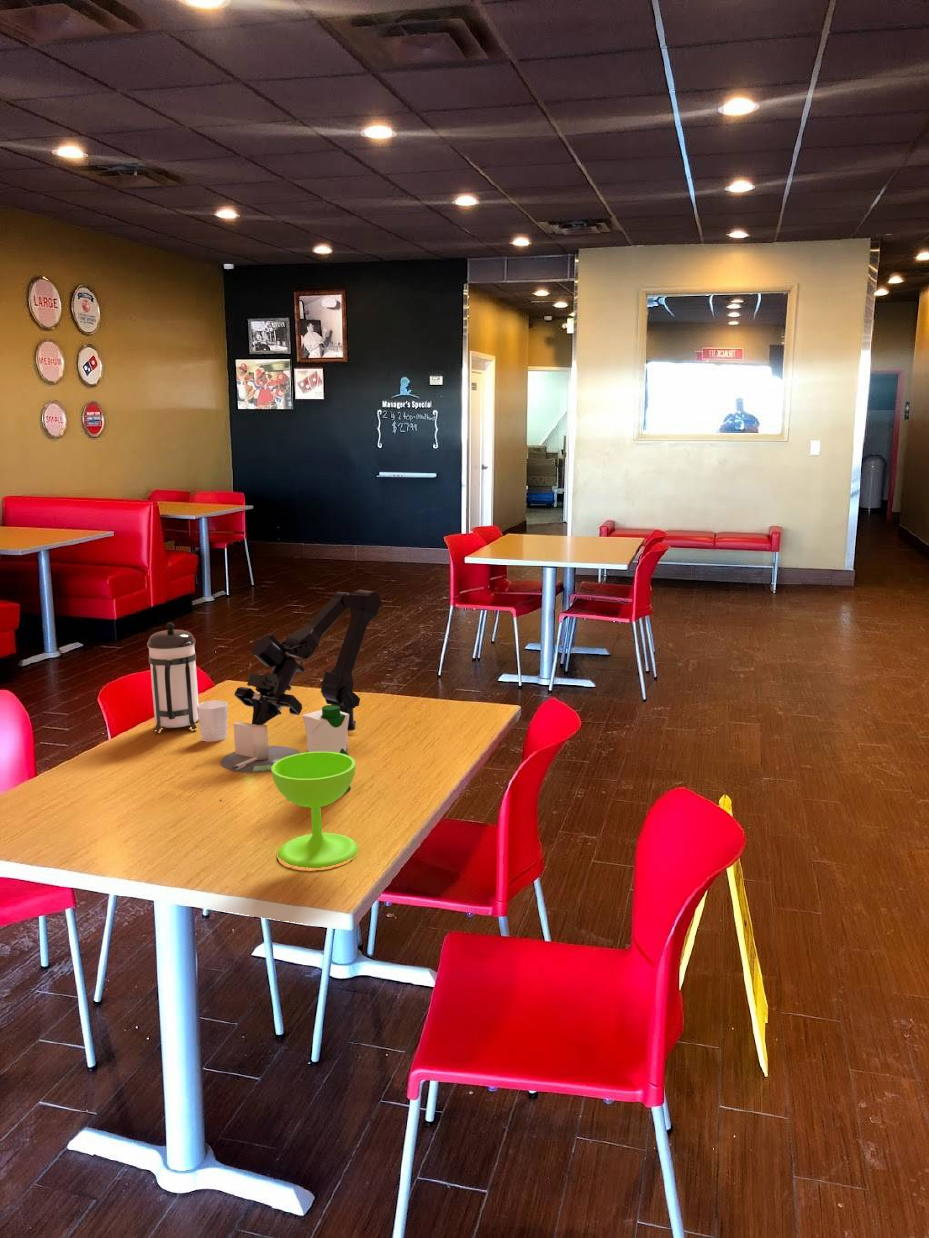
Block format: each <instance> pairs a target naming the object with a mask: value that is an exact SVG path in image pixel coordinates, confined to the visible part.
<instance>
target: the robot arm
mask: <svg viewBox="0 0 929 1238" xmlns="http://www.w3.org/2000/svg"><path fill="white" fill-rule="evenodd" d="M381 606H382V598H381V596H380V594H379V593H378V592H376V591H371V590H366V589H365V590H364V589H357V590H356V591H353V592H343V591H342V592H341V591H336V592H335V593H333V594H332V598H331V599H330V600H329V601H328V602H327V603H325V605H324V606H323V607H322V608H321V609H320V610H319V612H318V613H316V614H315V616H314V617H313V618H312V619H311V621H309V623H308V624H306V625H305V626H304V627H302V628H299V629H297V630H295V631H294V632H293V633H292V634H290V635H289V636H288V637H287V638H286V639H285V640H283V641H278V639H277V638H276V637H275V636H274V635H273V634H269V633H268V634H266V635H265V637H262V638H261V639H259V640H258V641H257V642H255V643H254V644H253V646H252V648H251V653H252V655H253V656H254V657H256V658H257V659H258V660H259V661H260V663H262V664H263V665H265V666H266V667H268V668H272V667H273V668H272V669H271V671H270V672H268V673H265V674H264V675H263V674H258V673H249V676H248V680H247V684H246V685H247V687H245V686H239V687H237V688H236V690H235V692H234V696H235V698H237V699H238V700H239V701H240V702H242V704H243V705H244V706H247V707H250V708H252V709H253V710H252V719H251V724H255V725H266V723H268V722H269V721H270V720H272V719H274V718H275V717H276V716H278V715H279V716H280V715H281V714H282V712H281V711H282V708H289V709H288V712H289V713H290V714H291V715H296V716H299V715H300V714H301V712H302V710H303V705H302V703H301V702H300V700H298V699H297V697H296V696H294V694H288V693H286V692H287V691H291V690H292V686H291V685H290V684H291V682H292V680H293V679H294V676H295V675H296V673H297V672H299V673H303V672H305V668H304V665H303V661H301V660H308V659H310V658H311V657H313V655H314V654H315V652H316V650H318V649H317V648H319V645H320V640H321V638H322V637H323V635H324V634H325V633H326V632H327V631H328V630H329V629H330V628H331V626H332V625H334V624H335V622H336V621H337V620H338V619H339V617H341V615H342V614H344V612H345V611H346V610H347V609H349V614H350V621H349V624H348V626H347V630H346V633H345V636H344V639H343V642H342V645H341V648H340V651H339V654H338V657H337V660H336V662H335V666H334V668H333V669H331V670H330V671H325V672H324V674H323V678H322V681H321V682H320V687H321V688H320V693H321V695H322V697H323V698H324V700H325V703H326V704H327V705H338V706H340V711H341V712H344V713H347V714H349V721H348V728H347V730H354V729H356V723H357V721H356V720H354V719H355V717H354V709H355V708H356V707H359V706H360V702H361V698H360V697H359V695H357V694H356V693H355V692H354V691H353V690H354V684H355V683H354V678H353V677H354V676H353V671H354V667H355V664H356V661H357V658H358V655H359V652H360V649H361V647H362V643H363V640H364V637H365V635H366V631H367V628H368V625H369V624H370V623H371V622H372V620H374V619H375V618H376V616H377V615H378V612H379V611H380V609H381ZM295 658H298V659H301V660H300V661H299V660H296V659H295ZM248 686H249V687H248ZM251 687H253V688H255V690H253V689H252V688H251ZM255 691H256V692H255ZM257 692H258V693H257Z"/></svg>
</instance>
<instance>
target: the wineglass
mask: <svg viewBox="0 0 929 1238" xmlns="http://www.w3.org/2000/svg"><path fill="white" fill-rule="evenodd" d="M271 770H272V771H271V774H272V780H273V782H274V785H275V786H276V788H277V790H278V791H279V793H281V794H282V796H284V797H285V798H286V800H288V801H289V802H291V803H293V804H296V806H299V807H302V808H303V807H304V808H310V816H311V817H310V818H311V819H310V820H311V833H308V834H307V833H306V834H304V835H300V836H298V837H293V838H292V839H290V840H288V841H287V842H285V843H284V844H282V845H281V846H280V847H279V849H278V850H277V852H278V857H279V858H281V860H284V861H285V862H286V863H288V864H290V865H294V866H298V867H305V868H306V867H308V868H321V867H328V866H332V865H336V864H339V863H342V862H344V861H347V860H348V859H350V858H353V857H354V856H355V855H356V854H357V852H358V848H359V845H358V843H356V842H355V841H354V839H352V838H350V837H348V836H347V835H343V834H339V833H333V832H323V828H322V825H323V824H322V808H321V807H325V806H328V805H331V804H334V802H336V801H338V799H340V798H342V797H343V795H345V794H346V792H347V791H348V790H347V789H348V788H349V787H351V785H352V782H353V779H354V777H355V775H356V759H354V758H353V757H352V756H350V755H349V754H348V755H346V754H342V753H337V752H306V751H305V752H301V753H300V754H295V755H291V756H287V757H285V758H282V759H280V760H278V761H277V762H275V763H274V764H273V765H272V767H271Z"/></svg>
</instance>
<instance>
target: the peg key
mask: <svg viewBox="0 0 929 1238" xmlns="http://www.w3.org/2000/svg"><path fill="white" fill-rule="evenodd" d="M268 734H269V733H268V725H266V724H263V725H255V724H252V723H249V722H244V721H243V722H242V721H236V722H233V737H234V738H233V739H234V741H233V742H234V752H235V754H239V755H244V756H249V757H254V758H251V759H249V760H247V761H244V762H242V763H240V764H237V765H234V766H232V769H237V768H239V767H240V766H243V765H245V764H248V763H250V762H252V761H255V760H265V759H268V758H269V749H268V746H269V735H268Z"/></svg>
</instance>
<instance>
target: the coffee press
mask: <svg viewBox="0 0 929 1238" xmlns="http://www.w3.org/2000/svg"><path fill="white" fill-rule="evenodd" d="M165 625H166V626H165V629H166V630H161V631H157V632H154V633H153V634H151V635H150V637H149V638H148V641H147V643H146V645H147V648H148V654H149V655H148V663H149V664H150V667H149V668H150V675H151V677H150V678H151V690H152V701H153V702H152V703H153V713H154V714H153V715H154V722H155V727H154V729H153V731H154V730H157V731H158V730H159V729H160V728H161V727H162V728H163V730H164V729H166V728H168V729H169V728H170V729H172V728H173V729H174V728H176V729H177V728H183V727H185V728H187V729H188V728H190V727H192V729H195V728H197V727H198V726H197V725H196V722H197V720H198V712H197V705H198V704H199V694H198V693H199V692H198V691H199V690H198V679H197V678H198V677H197V665H196V660H197V654H196V651H195V644H196V638H195V637H194V635H193V634H192V633H191V632H190V631H188V630H184V629H174V628H175V624H174V623H173V622H167V623H166V624H165Z"/></svg>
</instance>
